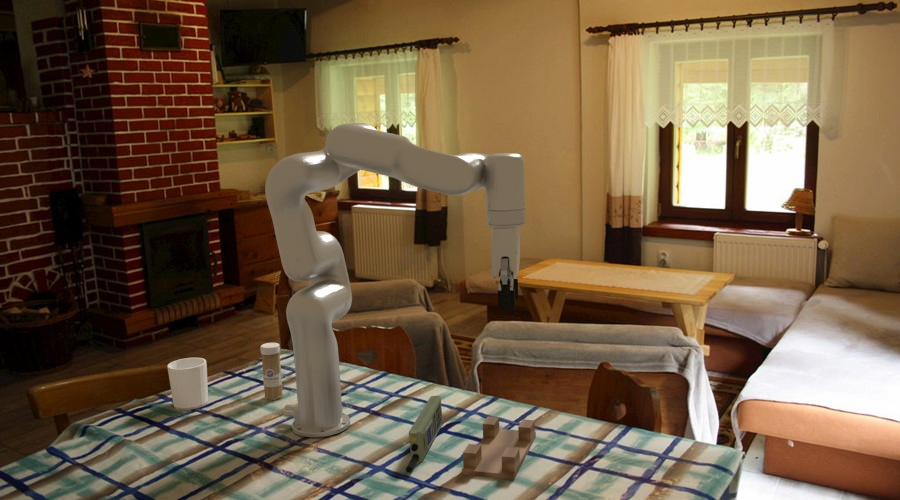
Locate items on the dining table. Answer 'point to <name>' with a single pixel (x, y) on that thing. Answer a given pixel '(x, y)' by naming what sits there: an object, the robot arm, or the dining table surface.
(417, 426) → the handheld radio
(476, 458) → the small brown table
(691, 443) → the dining table surface
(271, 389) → the sprinkles bottle
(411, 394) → the dining table surface
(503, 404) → the dining table surface
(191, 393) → the mug
